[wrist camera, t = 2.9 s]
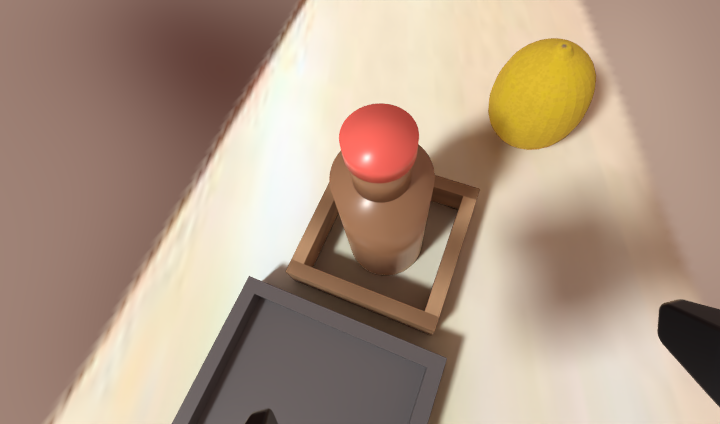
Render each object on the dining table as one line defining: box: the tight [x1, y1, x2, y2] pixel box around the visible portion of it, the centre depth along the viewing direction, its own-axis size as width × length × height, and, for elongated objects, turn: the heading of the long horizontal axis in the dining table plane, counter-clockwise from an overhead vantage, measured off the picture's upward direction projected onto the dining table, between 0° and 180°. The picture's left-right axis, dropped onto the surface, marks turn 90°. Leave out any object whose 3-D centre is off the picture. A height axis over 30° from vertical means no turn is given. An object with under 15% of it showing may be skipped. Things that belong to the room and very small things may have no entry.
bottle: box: [329, 104, 435, 275], centre depth 19 cm, size 5×5×12 cm
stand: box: [286, 175, 480, 335], centre depth 23 cm, size 9×9×2 cm
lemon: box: [488, 38, 596, 150], centre depth 23 cm, size 6×6×8 cm
